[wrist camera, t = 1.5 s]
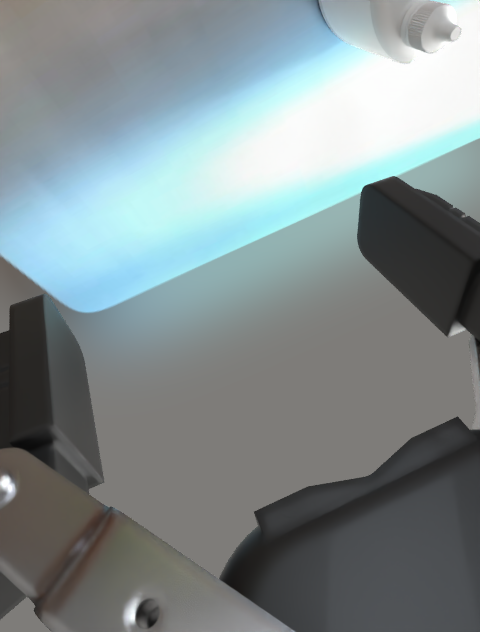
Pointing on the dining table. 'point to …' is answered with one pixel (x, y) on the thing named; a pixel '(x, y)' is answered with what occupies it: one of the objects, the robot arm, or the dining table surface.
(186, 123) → the dining table surface
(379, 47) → the eye dropper bottle
